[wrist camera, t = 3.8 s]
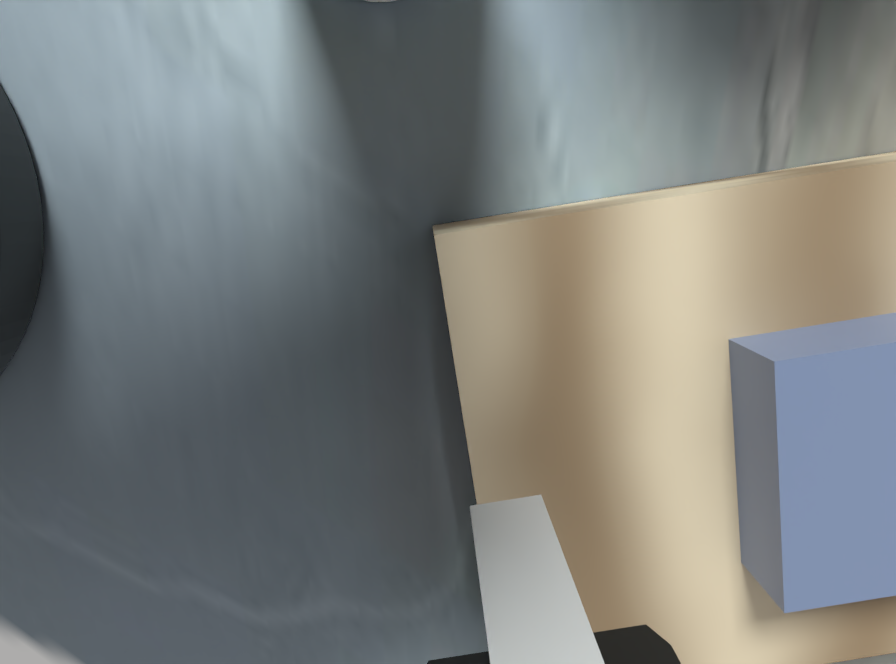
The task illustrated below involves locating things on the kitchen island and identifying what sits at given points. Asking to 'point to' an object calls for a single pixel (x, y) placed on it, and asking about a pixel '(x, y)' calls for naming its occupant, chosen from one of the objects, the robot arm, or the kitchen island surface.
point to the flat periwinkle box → (817, 460)
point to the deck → (661, 385)
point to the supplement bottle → (379, 0)
